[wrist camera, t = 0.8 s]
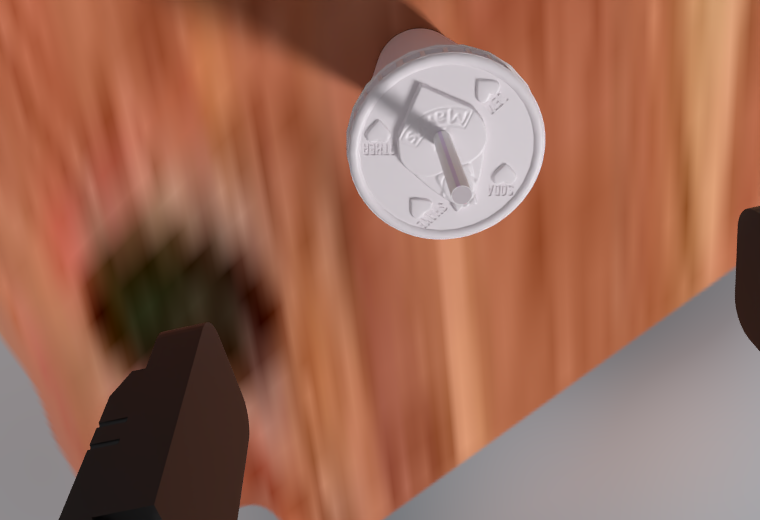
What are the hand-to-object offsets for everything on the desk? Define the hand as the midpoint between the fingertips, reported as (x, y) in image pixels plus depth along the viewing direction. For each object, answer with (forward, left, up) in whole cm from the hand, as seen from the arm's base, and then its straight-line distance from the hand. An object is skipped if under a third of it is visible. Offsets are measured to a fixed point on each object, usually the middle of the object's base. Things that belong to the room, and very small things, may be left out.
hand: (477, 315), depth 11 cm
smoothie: (0, +2, -22) cm, 22 cm away
